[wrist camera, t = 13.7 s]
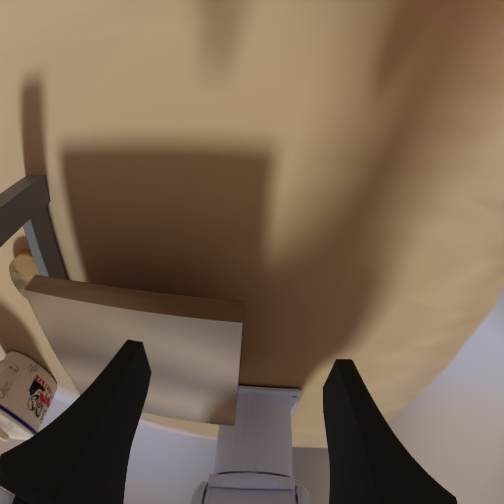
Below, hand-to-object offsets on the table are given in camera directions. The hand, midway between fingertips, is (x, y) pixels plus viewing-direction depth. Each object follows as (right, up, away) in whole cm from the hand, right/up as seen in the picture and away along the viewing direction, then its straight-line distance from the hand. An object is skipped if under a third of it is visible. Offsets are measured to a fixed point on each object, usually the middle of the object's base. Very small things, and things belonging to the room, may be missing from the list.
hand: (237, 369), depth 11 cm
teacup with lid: (-29, -10, +20) cm, 37 cm away
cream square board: (-7, 0, +12) cm, 13 cm away
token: (-18, +3, +11) cm, 21 cm away
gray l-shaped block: (-15, +5, +9) cm, 18 cm away
